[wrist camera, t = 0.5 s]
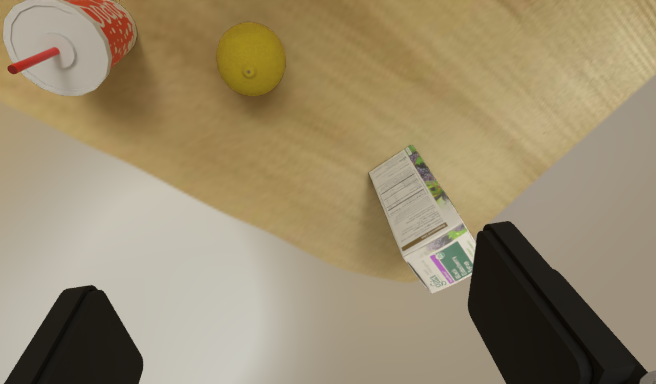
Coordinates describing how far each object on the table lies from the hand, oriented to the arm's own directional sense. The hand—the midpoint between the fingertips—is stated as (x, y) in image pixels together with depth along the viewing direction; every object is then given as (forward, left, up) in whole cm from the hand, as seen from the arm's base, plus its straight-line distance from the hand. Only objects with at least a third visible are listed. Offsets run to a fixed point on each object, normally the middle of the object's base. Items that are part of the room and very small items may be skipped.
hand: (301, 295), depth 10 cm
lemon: (0, -3, -30) cm, 30 cm away
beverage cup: (-2, -15, -30) cm, 33 cm away
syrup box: (+14, +12, -30) cm, 35 cm away
